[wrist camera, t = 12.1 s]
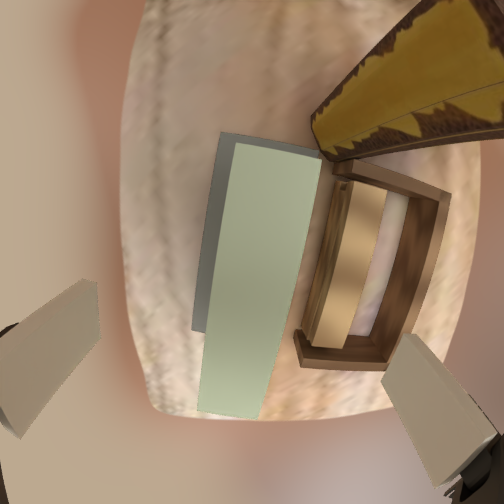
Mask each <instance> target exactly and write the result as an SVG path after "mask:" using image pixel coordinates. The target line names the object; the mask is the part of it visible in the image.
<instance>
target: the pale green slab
mask: <svg viewBox="0 0 504 504" xmlns="http://www.w3.org/2000/svg"><path fill="white" fill-rule="evenodd" d="M321 163H322V160H320V159H316V158H312V157H308V156H303V155H299V154H294V153H290V152H285V151H280V150H275V149H270V148H265V147H259V146H254V145H248V144H242V143H236V145H235V150H234V156H233V161H232V166H231V172H230V177H229V183H228V189H227V194H226V200H225V206H224V212H223V218H222V224H221V230H220V236H219V242H218V249H217V255H216V262H215V269H214V275H213V282H212V289H211V296H210V304H209V311H208V319H207V326H206V334H205V342H204V351H203V359H202V368H201V377H200V386H199V396H198V406H197V411H201V412H207V413H212V414H218V415H224V416H231V417H238V418H246V419H255V420H257V419H258V416H259V413H260V410H261V407H262V403H263V400H264V397H265V394H266V391H267V387H268V384H269V381H270V377H271V374H272V370H273V367H274V364H275V360H276V357H277V353H278V350H279V346H280V342H281V339H282V335H283V331H284V328H285V324H286V320H287V316H288V312H289V309H290V305H291V301H292V297H293V293H294V289H295V285H296V281H297V277H298V272H299V268H300V264H301V260H302V255H303V251H304V247H305V242H306V238H307V233H308V228H309V224H310V219H311V214H312V209H313V205H314V200H315V195H316V189H317V184H318V179H319V174H320V168H321Z"/></svg>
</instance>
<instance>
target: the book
mask: <svg viewBox="0 0 504 504" xmlns="http://www.w3.org/2000/svg"><path fill="white" fill-rule="evenodd" d="M311 129H312V132H313V134H314V136H315V139H316V141H317V144H318V147H319V149H320V151H321V153H322V154H323V155H324V156H325V157H326V158H327V159H328V160H329V161H331V162H343V161H347V160H351V159H361V158H366V157H371V156H377V155H382V154H387V153H393V152H398V151H406V150H412V149H418V148H425V147H432V146H439V145H446V144H454V143H463V142H472V141H482V140H493V139H504V0H421V1H420V2H419V3H418V4H417V5H416V6H415V7H414V8H413V9H412V10H411V11H410V12H409V13H408V14H407V15H406V16H405V17H404V18H403V19H402V20H401V21H400V22H399V23H398V24H396V25H395V26H394V27H393V28H392V29H391V30H390V31H389V32H388V33H387V34H386V35H385V37H384V38H383V39H382V40H381V41H380V42H379V43H378V44H377V45H376V46H375V47H374V48H373V49H372V50H371V51H370V52H369V53H368V54H367V55H366V56H365V57H364V58H363V59H362V60H361V61H360V62H359V63H358V65H357V66H356V67H355V68H354V69H353V70H352V71H351V72H350V73H349V74H348V75H347V76H346V77H345V79H344V80H343V81H342V82H341V83H340V84H339V85H338V86H337V87H336V88H335V89H334V91H333V92H332V93H331V94H330V95H329V96H328V97H327V98H326V99H325V101H324V102H323V103H322V104H321V105H320V106H319V107H318V108H317V110H316V111H315V112H314V113H313V114H312V115H311Z"/></svg>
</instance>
